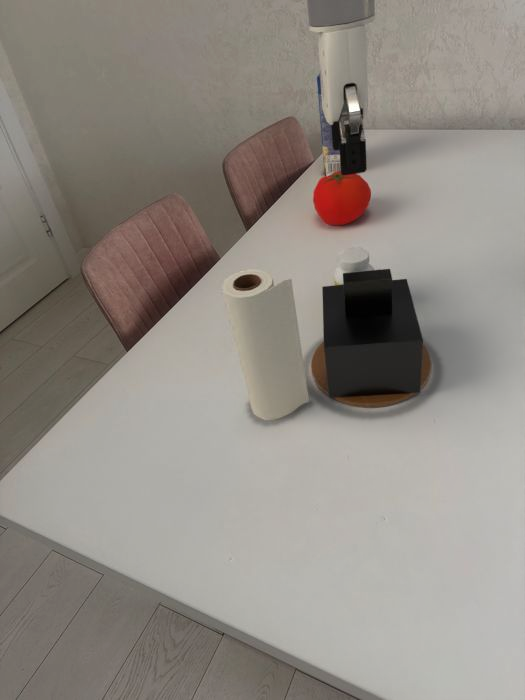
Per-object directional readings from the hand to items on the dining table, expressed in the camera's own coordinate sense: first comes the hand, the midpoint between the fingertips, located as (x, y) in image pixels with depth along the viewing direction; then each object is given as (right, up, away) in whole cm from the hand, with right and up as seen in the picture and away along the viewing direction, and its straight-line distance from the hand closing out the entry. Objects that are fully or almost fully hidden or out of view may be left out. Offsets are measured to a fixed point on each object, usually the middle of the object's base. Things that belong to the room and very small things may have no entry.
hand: (348, 159), depth 68 cm
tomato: (+6, +3, +44) cm, 45 cm away
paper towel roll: (-10, -35, +3) cm, 36 cm away
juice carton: (+10, +24, +68) cm, 73 cm away
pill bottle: (+4, -20, +17) cm, 26 cm away
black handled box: (+4, -28, +5) cm, 29 cm away
